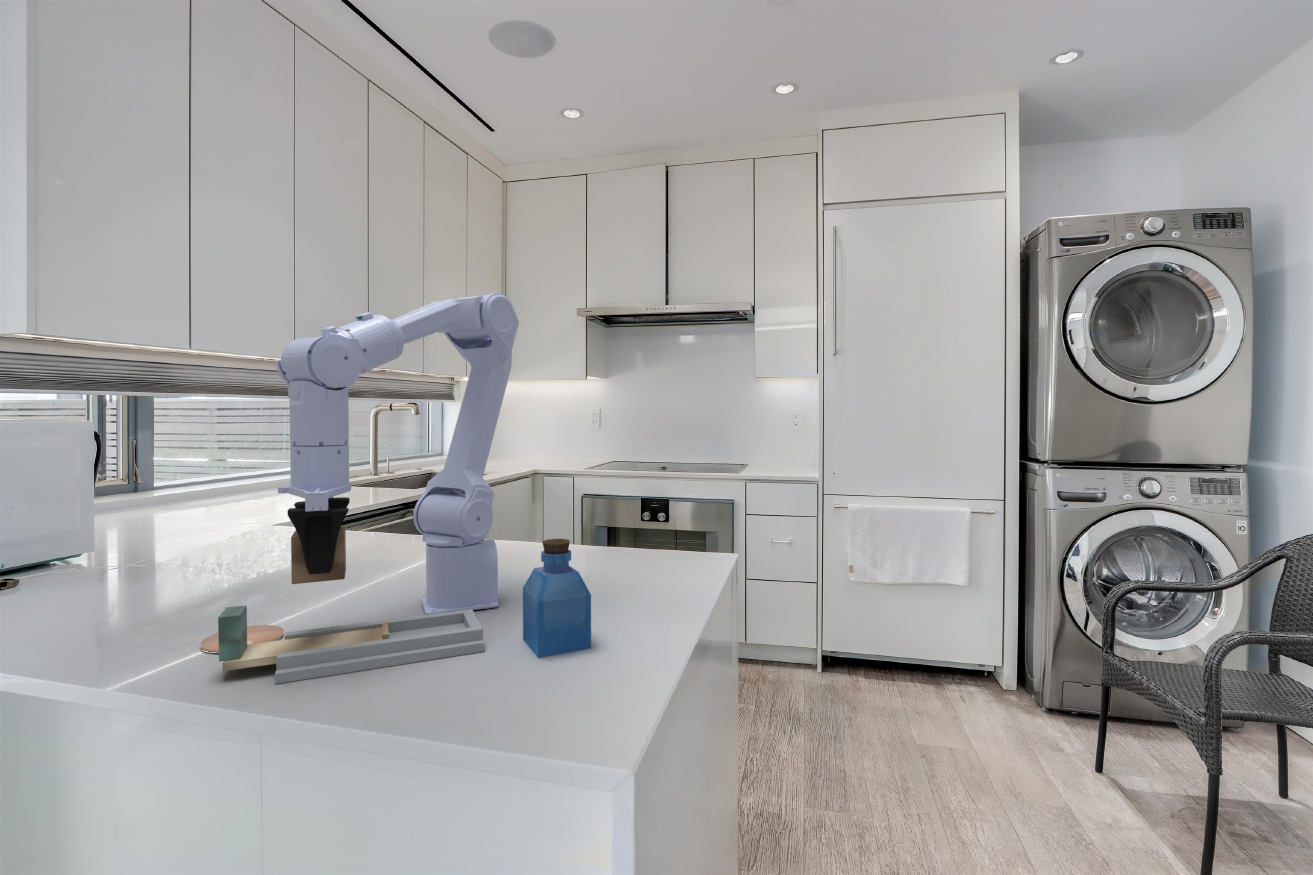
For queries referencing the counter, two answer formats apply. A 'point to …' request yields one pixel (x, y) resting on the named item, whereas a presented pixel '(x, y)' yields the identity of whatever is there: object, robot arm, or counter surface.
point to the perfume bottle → (556, 604)
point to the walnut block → (336, 573)
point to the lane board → (384, 645)
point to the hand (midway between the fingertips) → (321, 567)
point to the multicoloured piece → (259, 654)
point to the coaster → (253, 636)
